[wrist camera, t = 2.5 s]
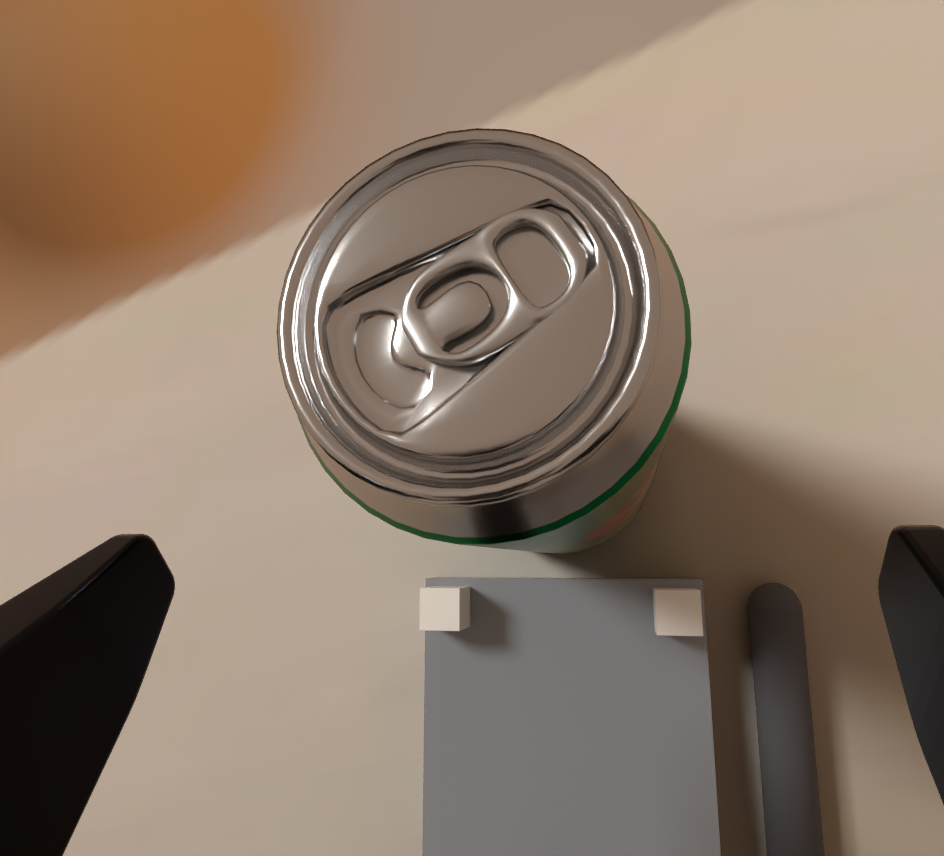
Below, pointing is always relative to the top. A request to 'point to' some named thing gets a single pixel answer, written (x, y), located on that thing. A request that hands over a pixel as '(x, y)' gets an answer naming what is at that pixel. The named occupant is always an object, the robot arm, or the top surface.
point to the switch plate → (567, 718)
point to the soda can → (486, 342)
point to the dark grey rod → (784, 723)
